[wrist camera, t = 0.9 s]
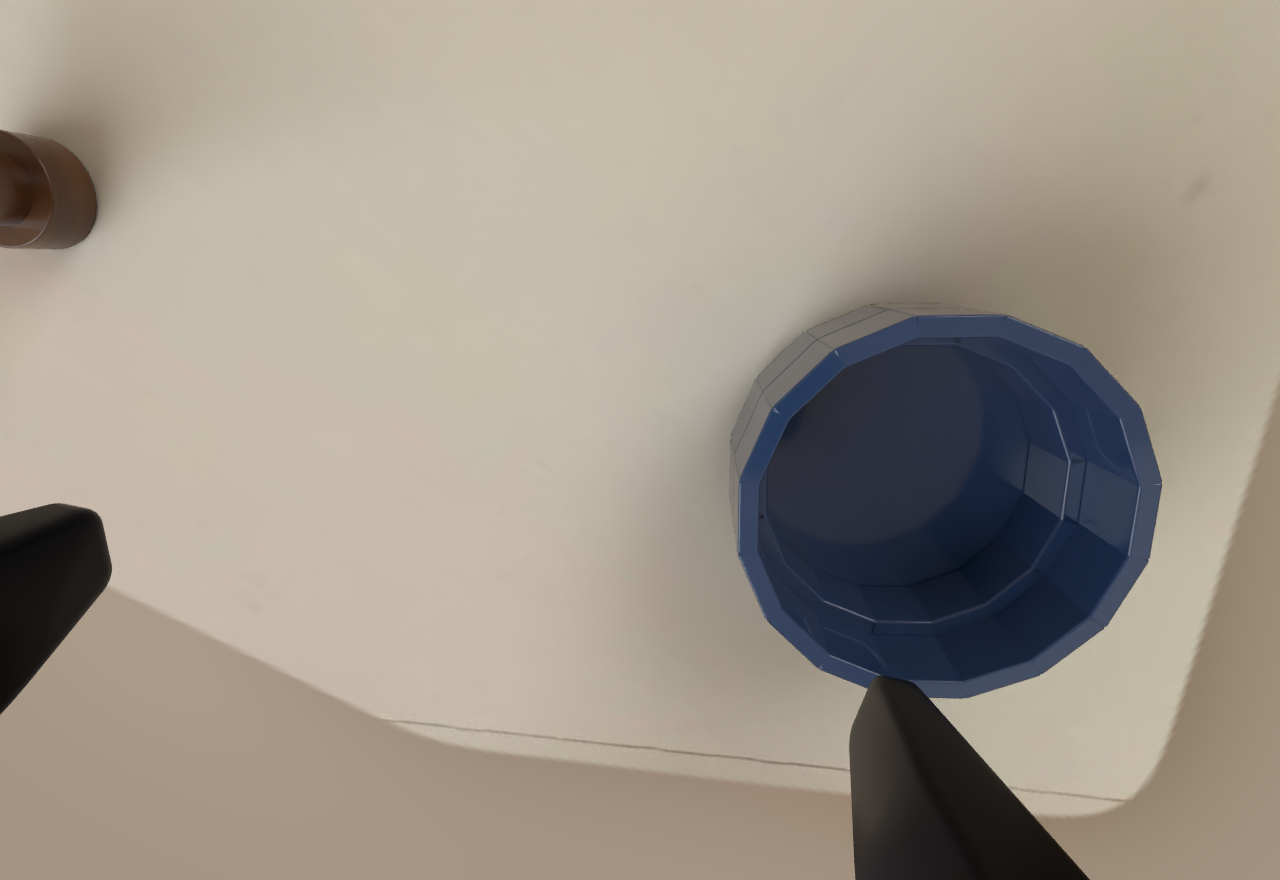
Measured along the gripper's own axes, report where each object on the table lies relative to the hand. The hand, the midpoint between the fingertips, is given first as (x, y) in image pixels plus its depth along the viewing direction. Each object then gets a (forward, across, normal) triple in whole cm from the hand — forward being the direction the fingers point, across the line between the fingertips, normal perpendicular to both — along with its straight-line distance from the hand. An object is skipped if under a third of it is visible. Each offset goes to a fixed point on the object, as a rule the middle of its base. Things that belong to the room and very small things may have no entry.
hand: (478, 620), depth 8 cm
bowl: (+13, -8, +3) cm, 16 cm away
